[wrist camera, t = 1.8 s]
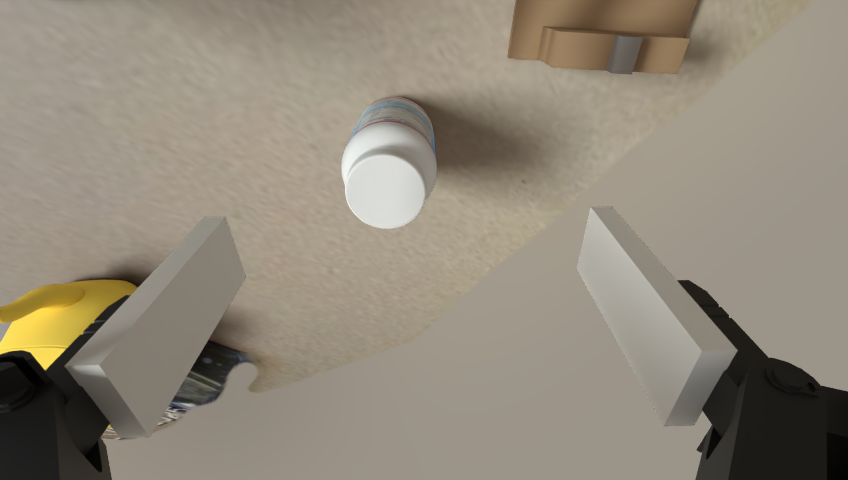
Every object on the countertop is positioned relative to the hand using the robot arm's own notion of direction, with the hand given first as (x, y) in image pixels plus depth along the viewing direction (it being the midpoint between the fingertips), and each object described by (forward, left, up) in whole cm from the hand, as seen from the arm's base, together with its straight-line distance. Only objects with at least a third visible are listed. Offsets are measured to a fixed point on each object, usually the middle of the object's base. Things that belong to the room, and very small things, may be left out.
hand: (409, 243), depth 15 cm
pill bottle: (-1, -2, -19) cm, 19 cm away
